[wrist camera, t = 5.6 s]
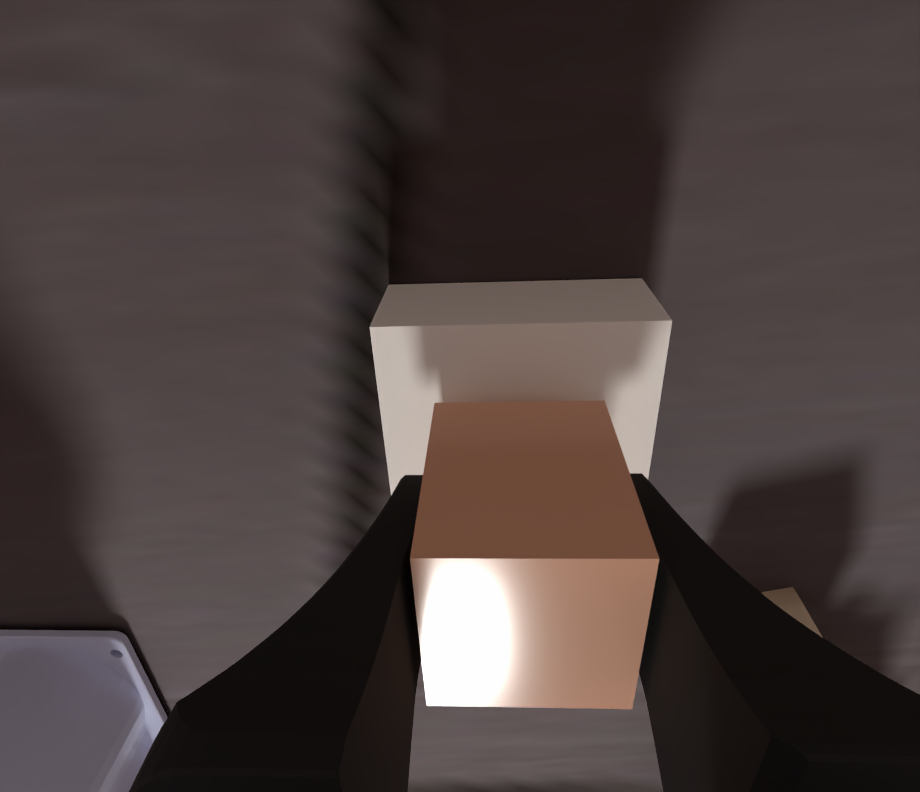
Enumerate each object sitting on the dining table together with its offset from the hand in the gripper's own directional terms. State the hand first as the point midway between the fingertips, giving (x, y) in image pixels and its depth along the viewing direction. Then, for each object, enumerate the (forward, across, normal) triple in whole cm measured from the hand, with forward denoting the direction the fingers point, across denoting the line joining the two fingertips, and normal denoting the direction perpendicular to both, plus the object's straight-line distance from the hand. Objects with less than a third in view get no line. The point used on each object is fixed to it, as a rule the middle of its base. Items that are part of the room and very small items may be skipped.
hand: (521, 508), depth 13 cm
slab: (+5, 0, 0) cm, 5 cm away
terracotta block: (+2, 0, 0) cm, 2 cm away
